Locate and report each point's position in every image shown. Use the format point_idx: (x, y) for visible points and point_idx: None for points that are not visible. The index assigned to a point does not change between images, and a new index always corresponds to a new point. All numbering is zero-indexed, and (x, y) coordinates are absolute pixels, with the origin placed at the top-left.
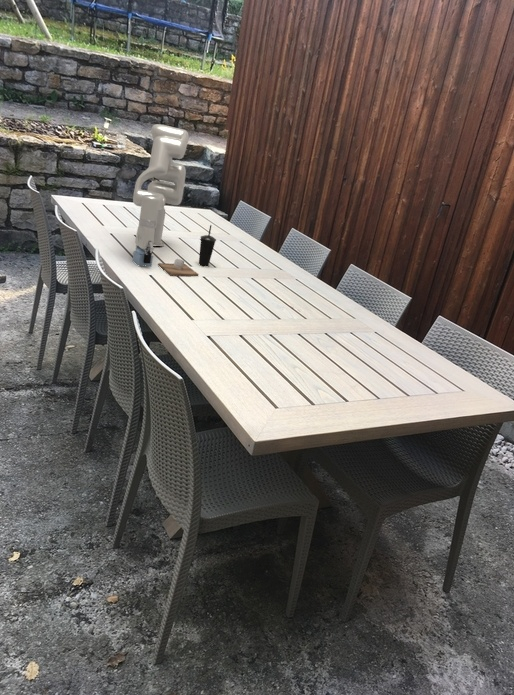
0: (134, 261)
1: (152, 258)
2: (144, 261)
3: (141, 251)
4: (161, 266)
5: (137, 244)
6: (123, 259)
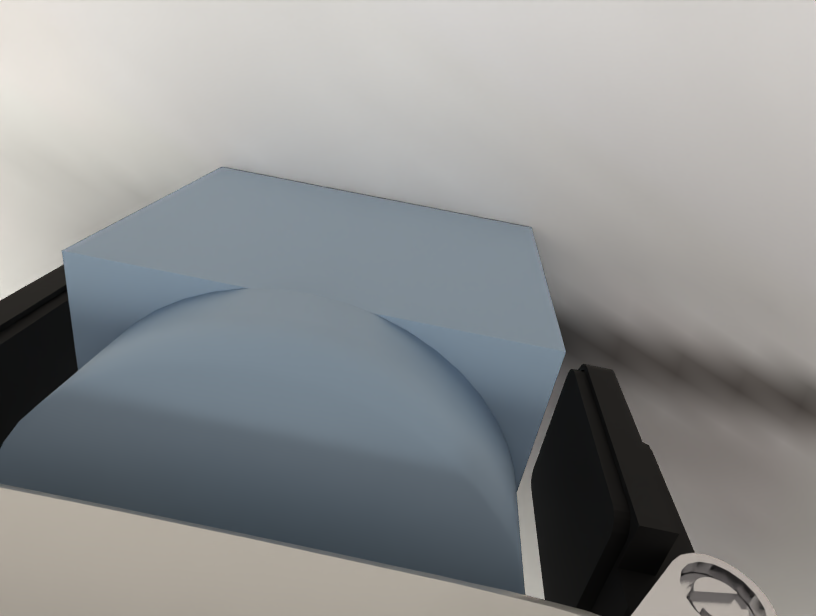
0: (427, 217)
1: None
2: (52, 286)
3: (42, 402)
4: None
5: (354, 607)
6: (708, 65)
